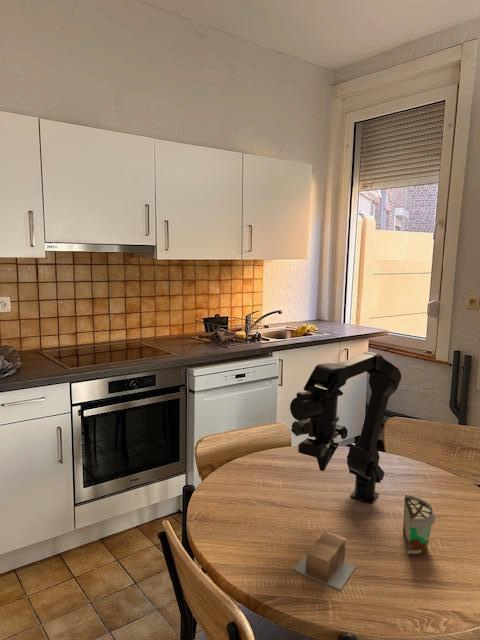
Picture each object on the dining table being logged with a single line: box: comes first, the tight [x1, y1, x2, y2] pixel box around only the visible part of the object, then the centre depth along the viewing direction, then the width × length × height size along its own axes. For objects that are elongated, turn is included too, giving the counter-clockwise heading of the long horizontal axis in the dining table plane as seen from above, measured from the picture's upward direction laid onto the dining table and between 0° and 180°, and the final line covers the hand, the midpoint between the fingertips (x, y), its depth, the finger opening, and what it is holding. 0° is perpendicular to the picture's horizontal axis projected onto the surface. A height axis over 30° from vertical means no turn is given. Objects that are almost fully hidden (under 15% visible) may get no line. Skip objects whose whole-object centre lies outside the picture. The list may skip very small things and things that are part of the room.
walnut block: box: [305, 531, 347, 584], centre depth 105 cm, size 5×5×10 cm
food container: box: [402, 494, 436, 558], centre depth 114 cm, size 12×6×10 cm, turn 168°
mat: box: [293, 554, 357, 591], centre depth 105 cm, size 9×11×1 cm
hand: (322, 470), depth 125 cm, fingers closed
